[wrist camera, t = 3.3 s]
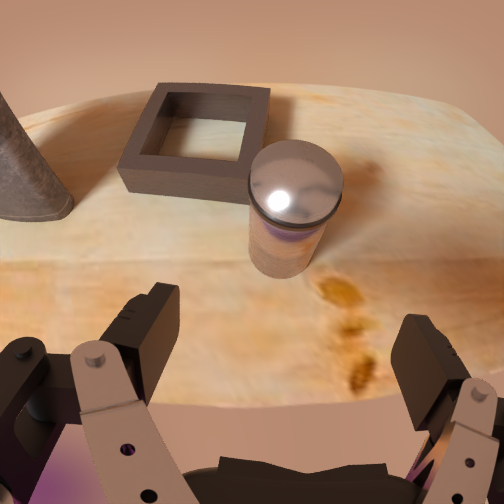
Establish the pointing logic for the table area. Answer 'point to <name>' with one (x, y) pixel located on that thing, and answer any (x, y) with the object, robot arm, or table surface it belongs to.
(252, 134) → the square frame
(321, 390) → the table surface
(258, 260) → the silver metal cylinder
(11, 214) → the flask
